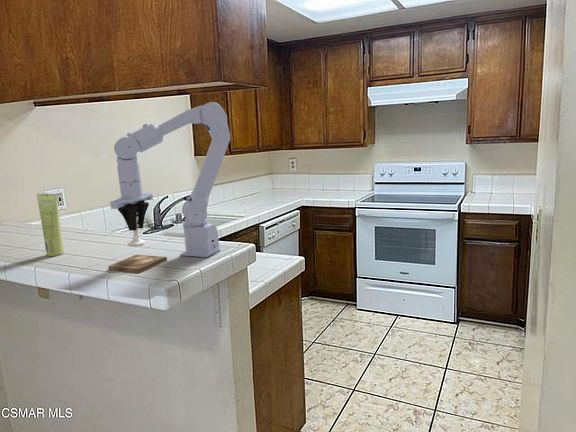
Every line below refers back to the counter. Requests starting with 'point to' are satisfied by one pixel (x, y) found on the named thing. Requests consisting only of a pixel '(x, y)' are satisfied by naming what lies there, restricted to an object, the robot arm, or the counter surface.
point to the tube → (50, 224)
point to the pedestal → (137, 263)
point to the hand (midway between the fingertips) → (136, 229)
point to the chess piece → (136, 238)
